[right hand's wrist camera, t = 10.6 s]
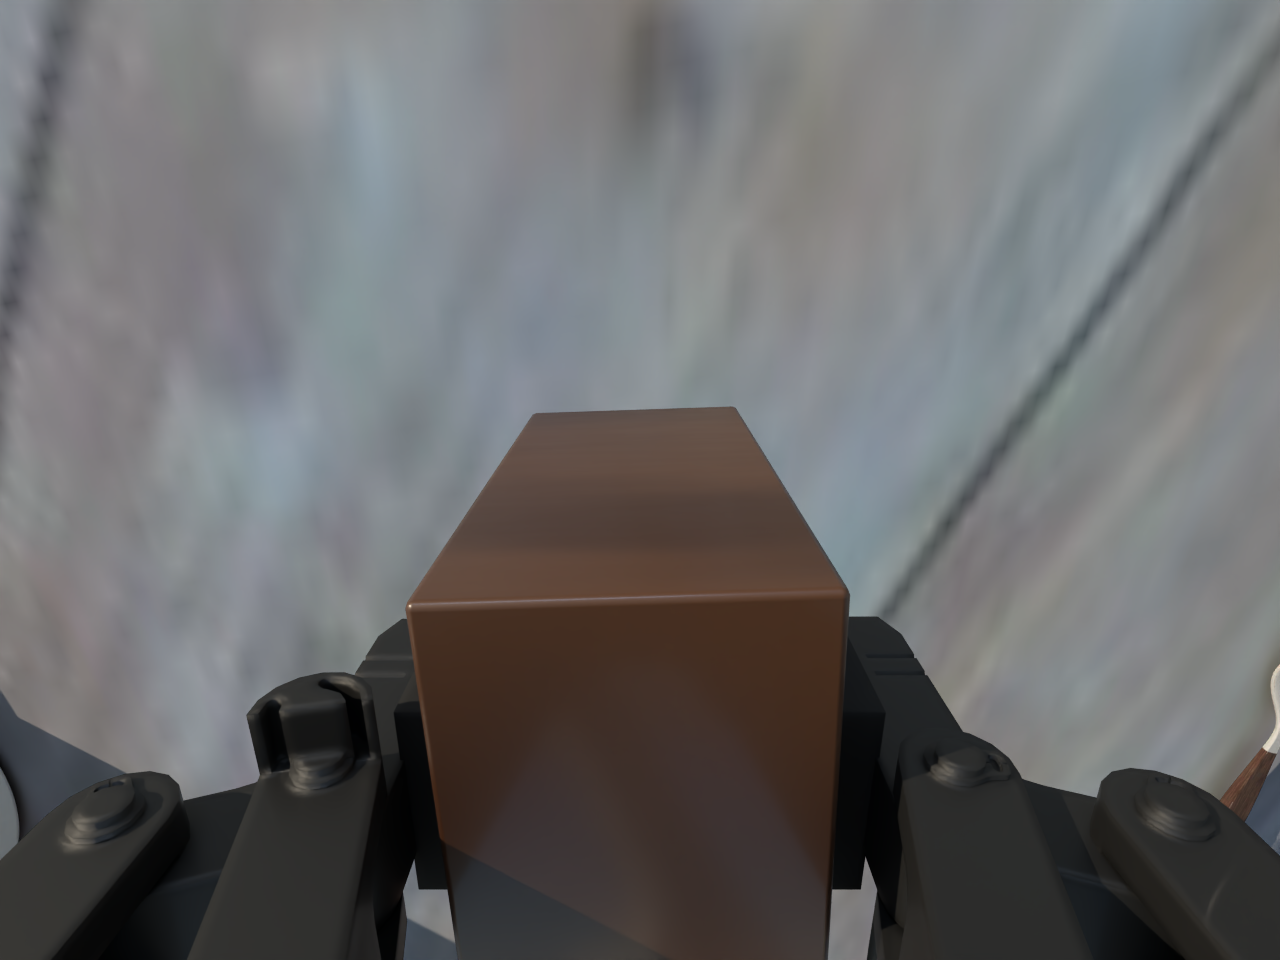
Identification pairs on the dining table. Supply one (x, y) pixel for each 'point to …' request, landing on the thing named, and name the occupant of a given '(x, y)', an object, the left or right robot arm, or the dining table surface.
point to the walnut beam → (634, 698)
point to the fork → (1256, 764)
